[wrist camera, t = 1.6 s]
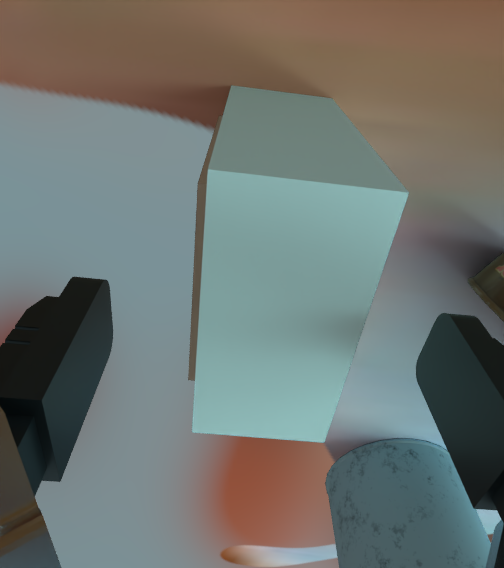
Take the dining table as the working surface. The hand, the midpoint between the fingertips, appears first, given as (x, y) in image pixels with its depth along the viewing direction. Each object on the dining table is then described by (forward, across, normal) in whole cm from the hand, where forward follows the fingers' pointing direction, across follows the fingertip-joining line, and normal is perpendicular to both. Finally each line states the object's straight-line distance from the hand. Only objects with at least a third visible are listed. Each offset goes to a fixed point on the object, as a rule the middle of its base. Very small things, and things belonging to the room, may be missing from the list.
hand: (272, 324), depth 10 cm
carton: (+10, 0, 0) cm, 10 cm away
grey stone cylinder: (+10, -12, +21) cm, 26 cm away
